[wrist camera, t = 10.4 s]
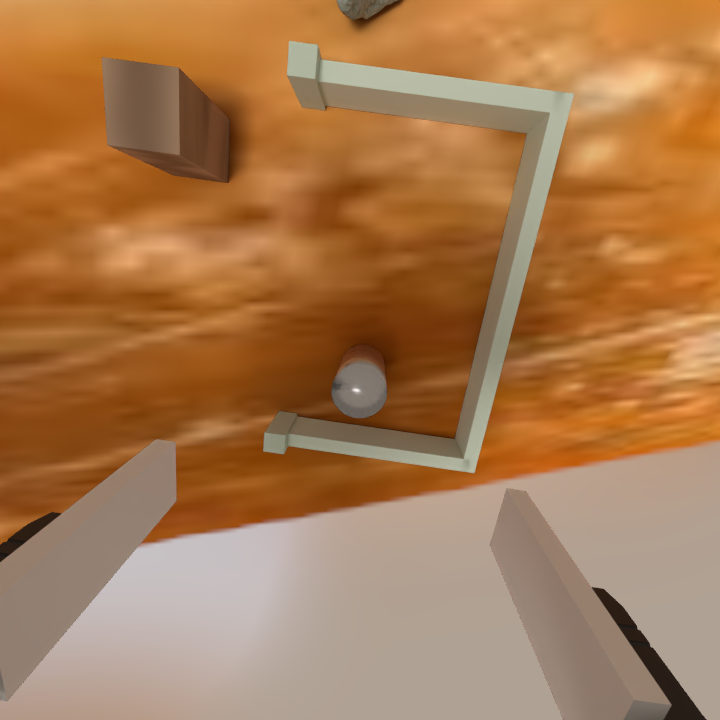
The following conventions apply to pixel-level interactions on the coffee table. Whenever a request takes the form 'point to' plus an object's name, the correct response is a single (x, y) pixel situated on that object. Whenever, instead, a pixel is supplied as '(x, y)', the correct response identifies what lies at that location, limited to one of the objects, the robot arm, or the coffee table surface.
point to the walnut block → (165, 120)
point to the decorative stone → (362, 7)
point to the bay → (544, 136)
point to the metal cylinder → (360, 382)
